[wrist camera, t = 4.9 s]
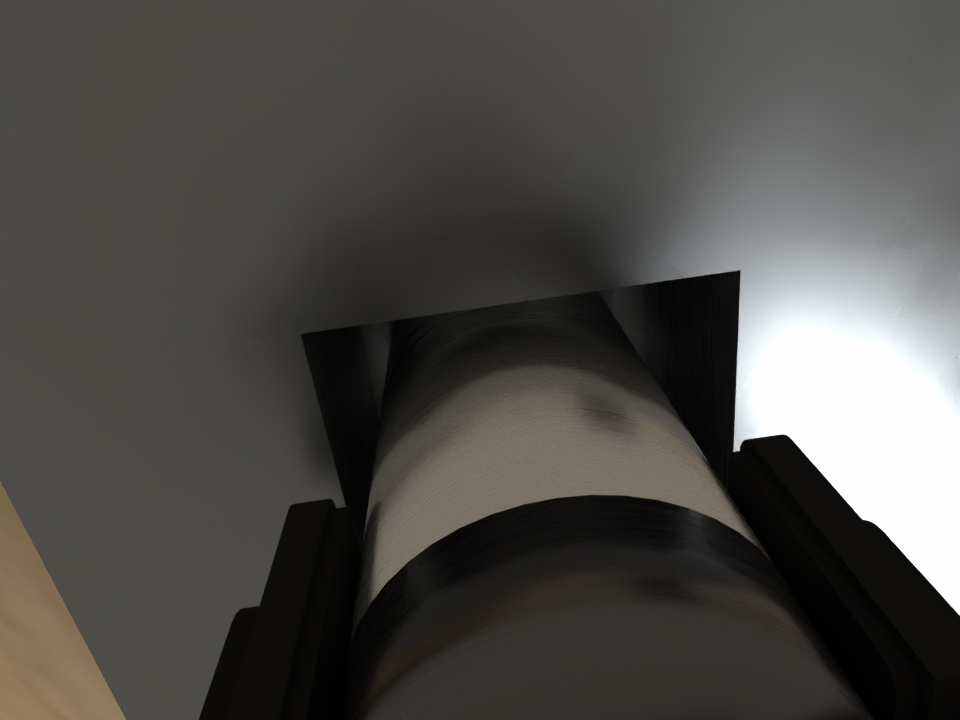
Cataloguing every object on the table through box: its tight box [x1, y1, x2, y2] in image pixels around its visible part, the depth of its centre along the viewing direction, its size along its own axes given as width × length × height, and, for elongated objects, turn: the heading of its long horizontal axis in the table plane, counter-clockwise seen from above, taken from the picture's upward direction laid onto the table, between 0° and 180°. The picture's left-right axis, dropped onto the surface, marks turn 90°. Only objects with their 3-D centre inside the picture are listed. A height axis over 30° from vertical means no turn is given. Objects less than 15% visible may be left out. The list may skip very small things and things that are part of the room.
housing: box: [0, 0, 960, 720], centre depth 14 cm, size 16×16×6 cm
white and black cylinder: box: [339, 291, 874, 720], centre depth 11 cm, size 5×5×10 cm
